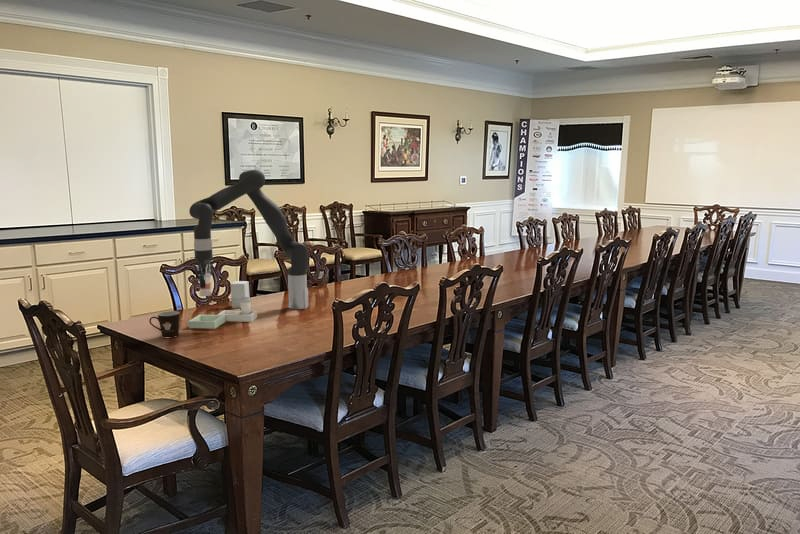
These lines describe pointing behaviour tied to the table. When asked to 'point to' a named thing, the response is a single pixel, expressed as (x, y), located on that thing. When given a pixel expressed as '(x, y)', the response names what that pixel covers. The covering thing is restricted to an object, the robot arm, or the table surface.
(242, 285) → the supplement box
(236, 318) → the fuse block
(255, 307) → the table surface
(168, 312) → the coffee mug
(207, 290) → the marked fuse
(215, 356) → the table surface
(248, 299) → the fuse
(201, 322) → the tray
